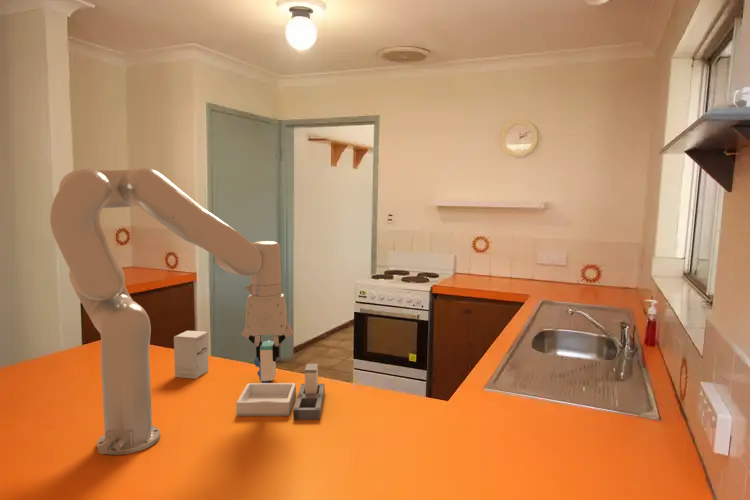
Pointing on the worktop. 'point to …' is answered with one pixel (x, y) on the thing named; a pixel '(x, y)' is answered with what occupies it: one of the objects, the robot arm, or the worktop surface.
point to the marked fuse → (267, 361)
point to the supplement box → (191, 354)
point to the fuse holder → (309, 404)
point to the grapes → (257, 363)
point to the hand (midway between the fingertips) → (268, 359)
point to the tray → (266, 399)
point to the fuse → (311, 379)
